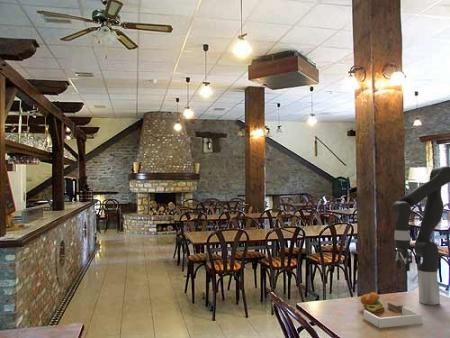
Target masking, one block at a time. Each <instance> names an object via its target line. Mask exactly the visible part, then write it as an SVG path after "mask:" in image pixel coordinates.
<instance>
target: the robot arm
mask: <svg viewBox="0 0 450 338" xmlns="http://www.w3.org/2000/svg"><path fill="white" fill-rule="evenodd" d="M429 174H430V175H429V179H428V181H426V182H424V183H422V184H420V185H419V186H417V187H415V188H414V189H412V190H411V191H410V192H409V193H408V194H406V195H405V196H403V197H401V198H399V199H397V200H396V201H395V202H394V203H393V204H392V206H391V212H392V213H393V214H394V215H398V217H397V219H395V220H394V248H393V260H395V263H396V269H397V270H398V269H399V270H401V269H402V260H403V261H404V271H405V272H410V271H411V266H410V265H411V264H413V251H414V254H415V255H417V256H418V257H422V261H421V263H418V264H417V279H418V280H417V281H418V282H417V285H418V286H417V287H418V302H419V303H420V304H423V305H428V306H429V305H430V306H435V305H439V304H440V303H441V299H440V298H441V295H440V285H439V284H438V267H439V256H440V255H439V248H438V247H439V246H438V245H437V243H435V242H433V241H431V238H432V233H433V232H434V230H435V229H436V227H438V225H439V223H440V222H441V221H442V219H443V213H444V202H443V198H442V188H443V187H444V186H445V185H447V184H449V183H450V166H447V165H444V166H435V167H433V168H432V169H431V171H430V173H429ZM425 198H426V199H425ZM423 200H425V205H424V208H423V213H422V219H421V222H420V226H419V231H418V234H417V236H416V238H415V242H414V247H413V251H409V249H410V248H411V236H410V235H411V234H410V220H411V215H412V208H411V207H414V206H417V205H418V204H420V203H421V202H422V201H423Z"/></svg>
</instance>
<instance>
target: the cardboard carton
mask: <svg viewBox="0 0 450 338" xmlns="http://www.w3.org/2000/svg"><path fill="white" fill-rule="evenodd" d="M402 307H404V305H403V304H401V303H399V302H397V301H388V302H387V309H389V310H391V311H394V312H395V313H402Z"/></svg>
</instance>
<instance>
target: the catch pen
mask: <svg viewBox="0 0 450 338" xmlns="http://www.w3.org/2000/svg"><path fill="white" fill-rule="evenodd" d="M401 313H402V315H396V316H387V317H379V316H377V315H375V314H374V313H373V312H369V311H367V310H366V309H363V319H364V320H365V321H367V322H369V323H371V324H372V325H374V326H375V327H377V328H378V329H382V328H391V327H403V326H411V325H422V324H423V315H422V314H421V313H419V312H417V311H415V310H412V309H410V308H408V307H406V306H403V307H402V312H401Z"/></svg>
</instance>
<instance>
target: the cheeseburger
mask: <svg viewBox="0 0 450 338" xmlns="http://www.w3.org/2000/svg"><path fill="white" fill-rule="evenodd" d="M360 303H361V304H362V305H363V306H362V307H363V309H364V310H366V311H368V312H370V313H372V314H376V313H381V312H383V311H385V305H384V303H383V301H381V300H380V295H379V294H378V293H376V292H369V293H366V294H363V295H362V296H361V297H360Z"/></svg>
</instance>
